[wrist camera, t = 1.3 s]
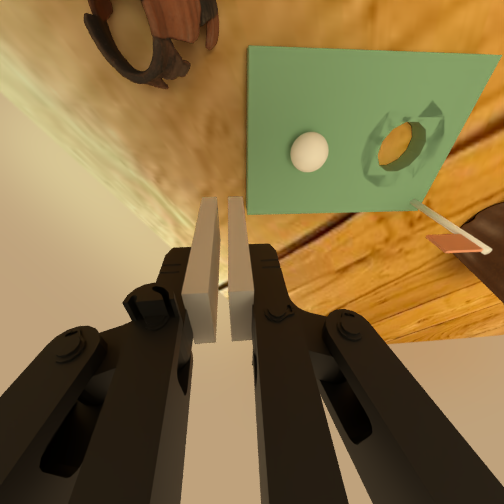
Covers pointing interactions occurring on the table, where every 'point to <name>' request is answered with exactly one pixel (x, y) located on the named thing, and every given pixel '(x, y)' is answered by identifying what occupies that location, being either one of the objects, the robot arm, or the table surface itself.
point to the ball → (309, 152)
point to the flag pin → (451, 235)
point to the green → (353, 124)
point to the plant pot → (496, 237)
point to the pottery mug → (157, 36)
